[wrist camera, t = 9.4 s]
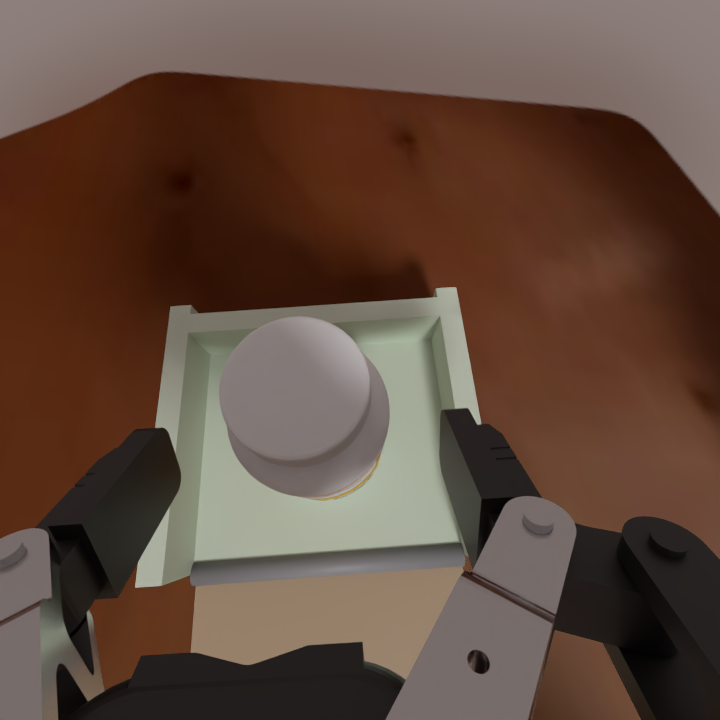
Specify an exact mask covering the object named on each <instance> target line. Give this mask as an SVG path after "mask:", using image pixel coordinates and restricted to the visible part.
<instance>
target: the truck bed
mask: <svg viewBox="0 0 720 720" xmlns="http://www.w3.org/2000/svg"><path fill="white" fill-rule="evenodd" d="M298 316H303V317H312V318H317V319H321V320H324V321H327V322H329V323H331V324H333V325H335V326H337V327H339V328H340V329H342V330H343V331H344V332H346V333H347V334H348V335H349V336H350V337H351V338H352V339H353V340H354V341H355V342H356V344H357V345H358V346H359V348H360V349H361V351H362V353H363V354H364V355H365V356H366V357H367V358H368V359H369V360H370V361H371V362H372V363H373V365H374V366H375V367H376V369H377V370H378V372H379V373H380V375H381V377H382V379H383V382H384V384H385V387H386V390H387V394H388V398H389V406H390V419H389V427H388V432H387V437H386V440H385V443H384V447H383V451H382V455H381V458H380V461H379V463H378V466H377V468H376V470H375V472H374V474H373V475H372V477H371V478H370V479H369V480H368V481H367V482H366V484H365V485H364V486H362V487H361V488H360V489H358V490H357V491H356V492H354V493H352V494H350V495H348V496H346V497H343V498H340V499H336V500H329V501H318V500H312V499H307V498H302V497H297V496H291V495H287V494H283V493H280V492H277V491H275V490H273V489H271V488H269V487H267V486H265V485H264V484H262V483H260V482H259V481H257V480H256V479H255V478H254V477H252V476H251V475H250V474H249V473H248V472H247V470H246V469H245V468H244V467H243V466H242V464H241V463H240V462H239V460H238V459H237V457H236V455H235V453H234V451H233V449H232V446H231V444H230V440H229V437H228V431H227V424H226V422H225V421H224V418H223V415H222V411H221V407H220V400H219V387H220V380H221V376H222V373H223V369H224V367H225V364H226V362H227V360H228V358H229V357H230V355H231V353H232V352H233V350H234V349H235V348H236V347H237V346H238V344H239V343H240V342H241V341H242V340H243V339H244V338H245V337H246V336H247V335H249V334H250V333H251V332H253V331H254V330H256V329H257V328H259V327H261V326H263V325H265V324H267V323H269V322H272V321H275V320H278V319H282V318H287V317H298ZM458 408H468V409H469V410H470V412H471V414H472V416H473V418H474V420H475V421H476V423H477V425H479V424H481V420H480V415H479V409H478V404H477V398H476V393H475V387H474V382H473V376H472V371H471V365H470V360H469V355H468V349H467V344H466V338H465V333H464V327H463V322H462V316H461V311H460V306H459V300H458V295H457V289H456V287H448V288H436V289H435V293H434V296H433V298H419V299H404V300H389V301H375V302H360V303H345V304H331V305H316V306H301V307H287V308H272V309H257V310H243V311H228V312H213V313H199V314H198V312H197V311H196V310H195V309H194V308H193V307H192V306H191V305H184V306H171V307H170V315H169V323H168V331H167V339H166V346H165V354H164V362H163V370H162V378H161V386H160V394H159V402H158V410H157V418H156V426H155V428H165V429H166V430H167V431H168V433H169V435H170V438H171V442H172V445H173V448H174V451H175V454H176V457H177V461H178V464H179V467H180V470H181V484H180V488H179V491H178V493H177V495H176V496H175V498H174V500H173V502H172V503H171V505H170V507H169V509H168V510H167V512H166V514H165V516H164V517H163V519H162V521H161V523H160V524H159V526H158V528H157V530H156V531H155V533H154V535H153V537H152V538H151V540H150V542H149V544H148V545H147V547H146V549H145V551H144V552H143V554H142V556H141V558H140V560H139V561H138V568H137V576H136V584H135V588H136V587H150V586H162V585H165V584H167V583H170V582H173V581H176V580H178V579H181V578H184V577H186V576H189V575H190V582H191V585H192V586H196V591H195V604H194V617H193V630H192V643H191V653H195V652H196V653H200V654H204V655H207V656H211V657H215V658H219V659H223V660H227V661H231V662H235V663H239V664H243V665H251V664H255V663H258V662H261V661H264V660H267V659H270V658H273V657H275V656H278V655H281V654H284V653H287V652H290V651H293V650H296V649H299V648H302V647H304V646H307V645H319V644H335V643H351V642H363V651H364V661H367V662H371V663H375V664H378V665H380V666H383V667H385V668H387V669H390V670H391V671H393V672H395V673H396V674H398V675H400V676H402V677H403V678H404V679H405V680H406V679H407V677H408V675H409V673H410V671H411V669H412V667H413V665H414V664H415V662H416V660H417V658H418V656H419V654H420V652H421V650H422V648H423V646H424V644H425V642H426V640H427V638H428V636H429V635H430V633H431V631H432V629H433V627H434V625H435V623H436V621H437V619H438V617H439V615H440V613H441V611H442V609H443V607H444V605H445V604H446V602H447V600H448V598H449V596H450V594H451V592H452V590H453V588H454V586H455V584H456V582H457V580H458V579H459V577H460V576H461V574H462V573H463V566H465V556H464V555H466V556H468V553H467V550H466V547H465V544H464V541H463V538H462V535H461V532H460V529H459V525H458V522H457V519H456V516H455V513H454V510H453V507H452V504H451V501H450V498H449V494H448V491H447V488H446V485H445V482H444V479H443V476H442V472H441V467H440V457H439V448H440V414H441V410H443V409H458ZM468 557H469V556H468Z"/></svg>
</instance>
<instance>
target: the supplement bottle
mask: <svg viewBox="0 0 720 720" xmlns="http://www.w3.org/2000/svg"><path fill="white" fill-rule="evenodd" d="M219 400H220V407H221V411H222V415H223V418H224V421H225V422H226V424H227V431H228V437H229V440H230V444H231V446H232V449H233V451H234V453H235V455H236V457H237V459H238V460H239V462H240V463H241V464H242V466H243V467H244V468H245V469H246V470H247V472H248V473H249V474H250V475H251V476H252V477H254V478H255V479H256V480H257V481H259V482H260V483H262V484H264V485H265V486H267V487H269V488H271V489H273V490H275V491H277V492H280V493H283V494H287V495H291V496H297V497H302V498H307V499H312V500H318V501H329V500H336V499H340V498H343V497H346V496H348V495H350V494H352V493H354V492H356V491H357V490H358V489H360V488H361V487H362V486H364V485H365V484H366V482H367V481H368V480H369V479H370V478H371V477H372V475H373V474H374V472H375V470H376V468H377V466H378V463H379V461H380V458H381V455H382V451H383V447H384V443H385V440H386V437H387V432H388V427H389V419H390V406H389V398H388V394H387V390H386V387H385V384H384V382H383V379H382V377H381V375H380V373H379V372H378V370H377V369H376V367H375V366H374V365H373V363H372V362H371V361H370V360H369V359H368V358H367V357H366V356H365V355H364V354H363V353H362V351H361V349H360V348H359V346H358V345H357V344H356V342H355V341H354V340H353V339H352V338H351V337H350V336H349V335H348V334H347V333H346V332H344V331H343V330H342V329H340V328H339V327H337V326H335V325H333V324H331V323H329V322H327V321H324V320H321V319H317V318H312V317H303V316H298V317H287V318H282V319H278V320H275V321H272V322H269V323H267V324H265V325H263V326H261V327H259V328H257V329H256V330H254V331H253V332H251V333H250V334H249V335H247V336H246V337H245V338H244V339H243V340H242V341H241V342H240V343H239V344H238V346H237V347H236V348H235V349H234V350H233V352H232V353H231V355H230V357H229V358H228V360H227V362H226V364H225V367H224V369H223V373H222V376H221V380H220V387H219Z"/></svg>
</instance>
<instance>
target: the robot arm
mask: <svg viewBox="0 0 720 720" xmlns="http://www.w3.org/2000/svg"><path fill="white" fill-rule="evenodd" d="M439 457H440V467H441V472H442V476H443V479H444V482H445V485H446V488H447V491H448V494H449V498H450V501H451V504H452V507H453V510H454V513H455V516H456V519H457V522H458V525H459V529H460V532H461V535H462V538H463V541H464V544H465V547H466V550H467V553H468V556H469V560H470V563H471V566H472V569H473V570H472V572H471V573H469V572H467V571H464V572H463V573H462V574H461V576H460V577H459V579H458V580H457V582H456V584H455V586H454V588H453V590H452V592H451V594H450V596H449V598H448V600H447V602H446V604H445V605H444V607H443V609H442V611H441V613H440V615H439V617H438V619H437V621H436V623H435V625H434V627H433V629H432V631H431V633H430V635H429V636H428V638H427V640H426V642H425V644H424V646H423V648H422V650H421V652H420V654H419V656H418V658H417V660H416V662H415V664H414V665H413V667H412V669H411V671H410V673H409V675H408V677H407V679H406V680H405V679H404V678H403V677H402V676H400V675H398V674H396V673H395V672H393V671H391V670H390V669H387V668H385V667H383V666H380V665H378V664H375V663H371V662H367V661H364V651H363V642H351V643H335V644H319V645H307V646H304V647H302V648H299V649H296V650H293V651H290V652H287V653H284V654H281V655H278V656H275V657H273V658H270V659H267V660H264V661H261V662H258V663H255V664H251V665H243V664H239V663H235V662H231V661H227V660H223V659H219V658H215V657H211V656H207V655H204V654H200V653H196V652H195V653H179V654H163V655H148V656H141V658H140V660H139V662H138V664H137V667H136V669H135V671H134V673H133V676H132V678H131V679H128V680H126V681H124V682H121V683H119V684H117V685H115V686H113V687H111V688H109V689H107V690H106V691H104V687H103V682H102V676H101V669H100V662H99V656H98V649H97V642H96V636H95V629H94V622H93V617H92V615H91V613H90V611H89V609H90V607H91V605H92V604H93V602H94V600H95V599H108V598H118V596H119V595H120V593H121V591H122V589H123V588H124V586H125V584H126V582H127V581H128V579H129V577H130V575H131V574H132V572H133V570H134V568H135V567H136V565H137V563H138V561H139V560H140V558H141V556H142V554H143V552H144V551H145V549H146V547H147V545H148V544H149V542H150V540H151V538H152V537H153V535H154V533H155V531H156V530H157V528H158V526H159V524H160V523H161V521H162V519H163V517H164V516H165V514H166V512H167V510H168V509H169V507H170V505H171V503H172V502H173V500H174V498H175V496H176V495H177V493H178V491H179V488H180V484H181V470H180V467H179V464H178V461H177V457H176V454H175V451H174V448H173V445H172V442H171V438H170V435H169V433H168V431H167V430H166V429H165V428H148V429H136V430H134V431H133V432H132V433H131V434H130V435H129V436H128V437H127V438H126V440H125V441H124V442H123V443H122V444H121V445H120V446H119V447H118V448H115V449H114V450H112V451H111V452H109V453H108V454H106V455H105V456H103V457H102V458H100V459H99V460H98V461H97V462H96V463H95V464H94V465H93V466H92V467H91V468H90V469H89V470H88V472H87V473H86V476H83V477H82V478H81V479H80V480H79V481H78V482H77V483H76V484H75V488H72V489H71V490H70V491H69V492H68V493H67V494H66V495H65V496H64V497H63V498H62V499H61V500H60V502H59V503H58V504H57V505H56V506H55V507H54V508H53V509H52V510H51V511H50V512H49V513H48V514H47V516H46V517H45V518H44V519H43V520H42V521H41V522H40V523H39V524H38V525H37V526H36V527H35V528H32V529H26V530H21V531H18V532H15V533H12V534H10V535H8V536H5V537H3V538H1V539H0V720H532V719H533V715H534V711H535V706H536V702H537V698H538V694H539V691H540V687H541V683H542V679H543V675H544V671H545V667H546V663H547V659H548V655H549V651H550V647H551V643H552V639H553V635H554V631H555V630H558V631H561V632H565V633H569V634H573V635H576V636H580V637H584V638H587V639H591V640H595V641H599V642H602V643H603V644H604V646H605V648H606V650H607V652H608V654H609V656H610V658H611V660H612V662H613V664H614V666H615V668H616V670H617V672H618V674H619V676H620V678H621V680H622V682H623V684H624V686H625V688H626V690H627V692H628V694H629V696H630V698H631V700H632V702H633V704H634V706H635V708H636V710H637V712H638V714H639V716H640V718H641V720H720V559H719V558H718V557H717V556H716V555H715V554H714V553H713V552H712V551H711V550H710V549H709V548H708V546H707V545H706V544H705V543H704V542H703V541H702V540H700V539H699V538H698V537H697V536H695V535H694V534H693V533H691V532H690V531H688V530H686V529H685V528H683V527H681V526H679V525H677V524H675V523H672V522H670V521H667V520H664V519H660V518H655V517H646V516H642V517H635V518H632V519H630V520H628V521H627V522H626V523H625V524H624V526H623V529H622V533H618V532H613V531H607V530H602V529H597V528H591V527H587V526H583V525H579V524H576V523H574V521H573V520H572V518H571V517H570V516H569V514H568V513H567V512H566V511H565V510H563V509H562V508H561V507H559V506H558V505H556V504H554V503H553V502H550V501H548V500H546V499H542V497H541V496H540V494H539V492H538V491H537V489H536V488H535V486H534V484H533V483H532V481H531V479H530V478H529V476H528V475H527V473H526V471H525V470H524V468H523V467H522V465H521V463H520V462H519V460H517V458H516V455H515V454H514V452H513V451H512V449H510V446H509V444H508V443H507V441H506V439H505V438H504V436H503V434H501V433H500V432H499V431H497V430H496V429H495V428H493V427H492V426H490V425H489V424H479V425H477V423H476V421H475V420H474V418H473V416H472V414H471V412H470V410H469V409H468V408H458V409H443V410H441V414H440V448H439Z"/></svg>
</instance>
